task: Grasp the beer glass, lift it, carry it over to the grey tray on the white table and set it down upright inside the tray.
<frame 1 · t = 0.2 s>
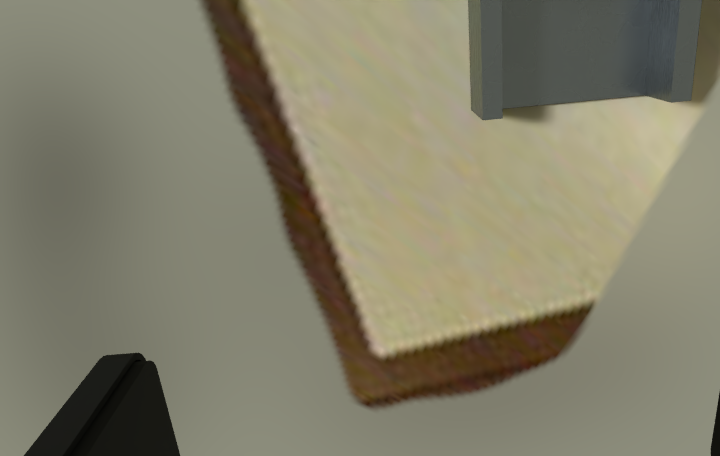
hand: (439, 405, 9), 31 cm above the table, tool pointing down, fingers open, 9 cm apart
grey tray: (567, 2, 35), on the table
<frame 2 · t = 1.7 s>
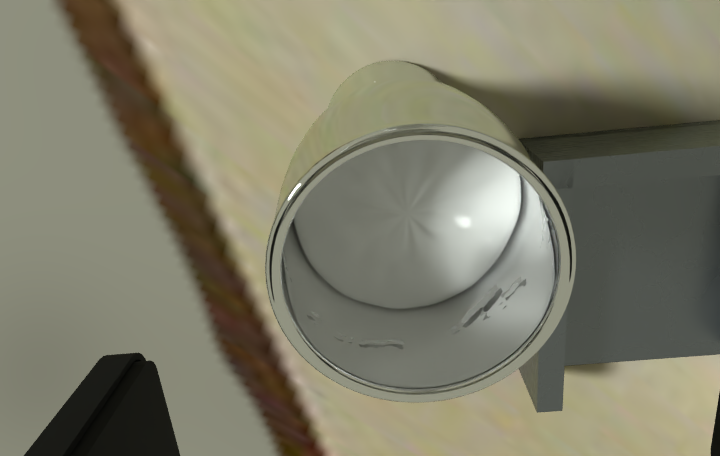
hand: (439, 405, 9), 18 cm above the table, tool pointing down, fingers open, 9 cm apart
beer glass: (390, 127, 26), on the table
grey tray: (642, 249, 28), on the table
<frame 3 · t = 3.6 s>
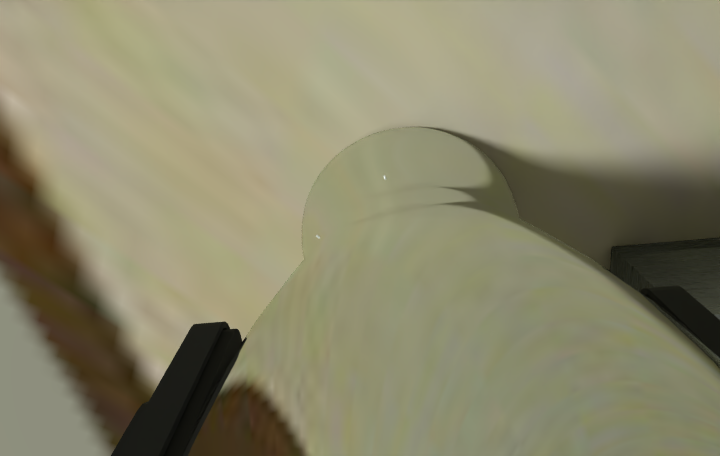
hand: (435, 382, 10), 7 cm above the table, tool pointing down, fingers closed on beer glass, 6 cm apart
beer glass: (407, 229, 16), on the table, touching gripper
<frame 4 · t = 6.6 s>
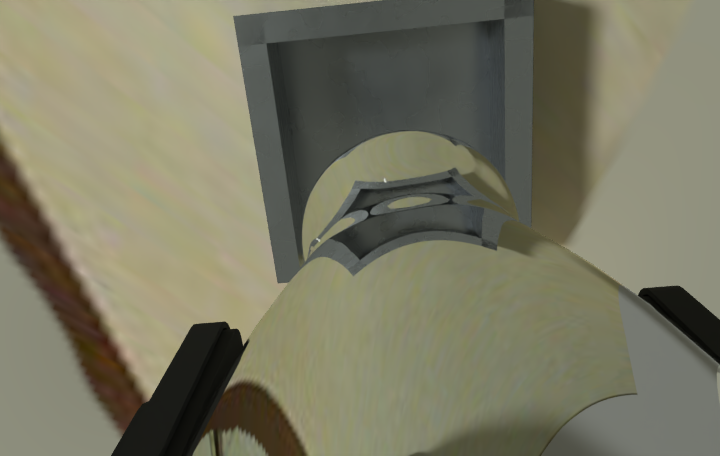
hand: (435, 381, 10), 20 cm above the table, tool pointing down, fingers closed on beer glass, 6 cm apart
beer glass: (407, 231, 16), point 14 cm above the table, touching gripper
grey tray: (389, 131, 29), on the table
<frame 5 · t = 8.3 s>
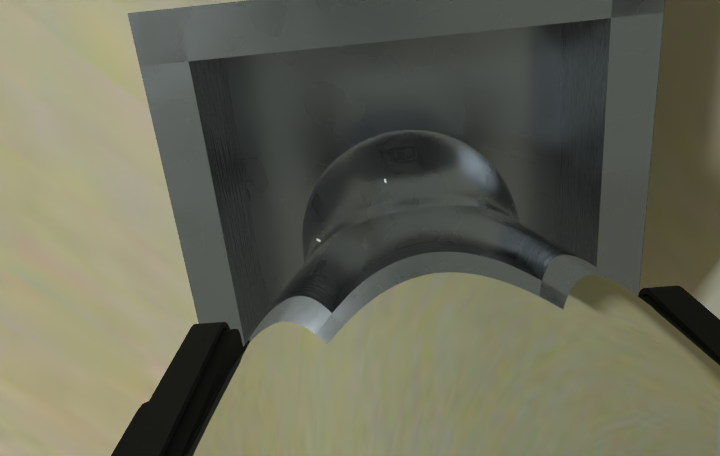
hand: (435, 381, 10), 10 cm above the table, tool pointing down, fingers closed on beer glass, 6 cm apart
beer glass: (407, 231, 16), point 3 cm above the table, touching gripper
grey tray: (401, 192, 19), on the table
when the fingers open (8 cm above the table, at t = 9.5 s): beer glass drops 1 cm, resting on grey tray.
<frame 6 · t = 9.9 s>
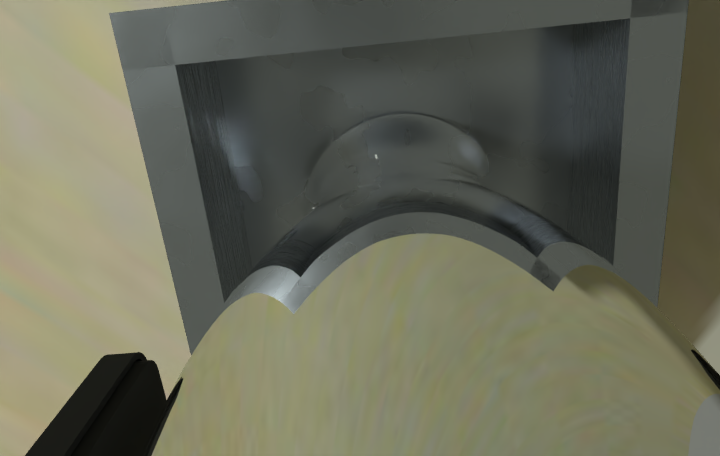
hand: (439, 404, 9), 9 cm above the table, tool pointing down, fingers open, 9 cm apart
beer glass: (401, 209, 17), resting on grey tray
grey tray: (403, 201, 18), on the table
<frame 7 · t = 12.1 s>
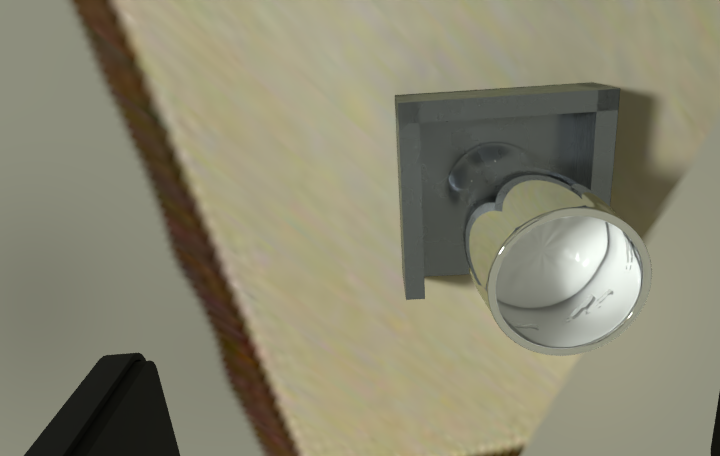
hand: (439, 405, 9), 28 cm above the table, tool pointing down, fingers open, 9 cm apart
beer glass: (491, 187, 37), resting on grey tray
grey tray: (491, 184, 37), on the table
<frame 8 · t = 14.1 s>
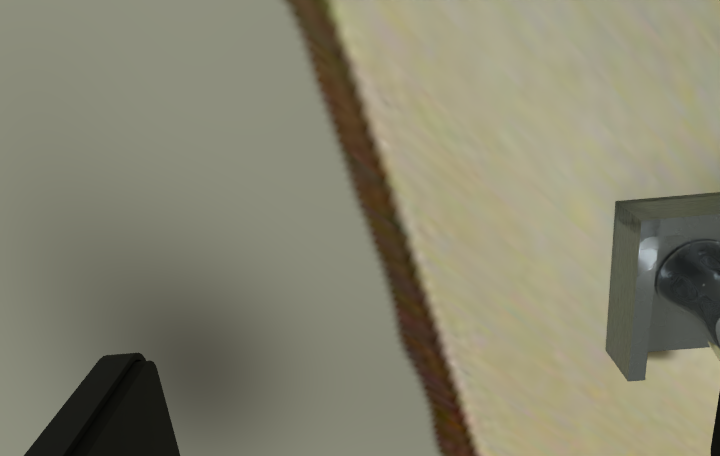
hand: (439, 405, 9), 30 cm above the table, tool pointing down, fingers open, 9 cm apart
beer glass: (696, 276, 41), resting on grey tray
grey tray: (695, 272, 41), on the table
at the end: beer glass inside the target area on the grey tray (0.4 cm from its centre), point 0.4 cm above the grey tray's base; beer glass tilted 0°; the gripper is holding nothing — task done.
